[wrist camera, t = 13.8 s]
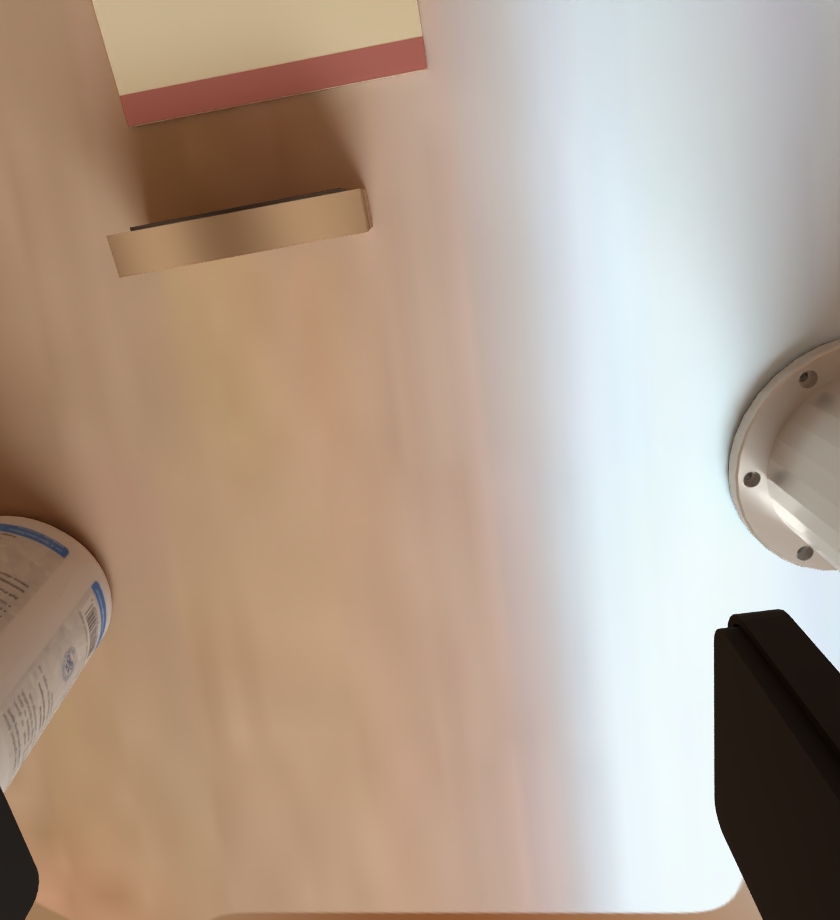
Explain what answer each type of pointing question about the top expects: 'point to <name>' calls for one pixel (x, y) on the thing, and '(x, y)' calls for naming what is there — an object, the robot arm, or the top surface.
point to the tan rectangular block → (241, 231)
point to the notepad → (250, 50)
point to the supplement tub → (43, 629)
